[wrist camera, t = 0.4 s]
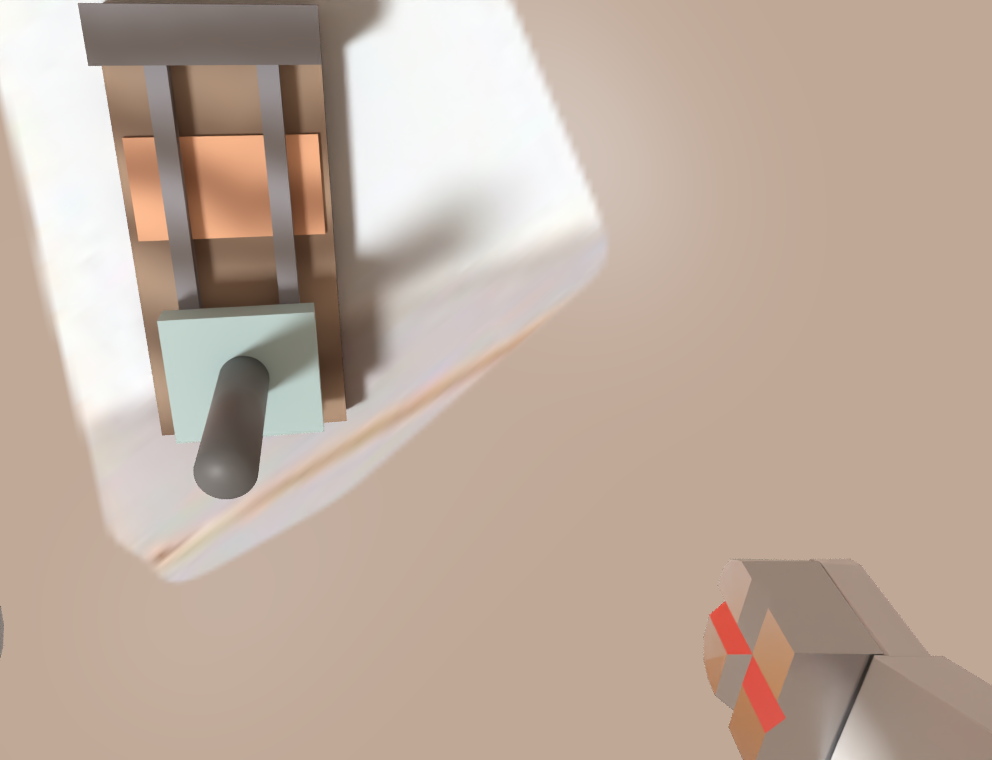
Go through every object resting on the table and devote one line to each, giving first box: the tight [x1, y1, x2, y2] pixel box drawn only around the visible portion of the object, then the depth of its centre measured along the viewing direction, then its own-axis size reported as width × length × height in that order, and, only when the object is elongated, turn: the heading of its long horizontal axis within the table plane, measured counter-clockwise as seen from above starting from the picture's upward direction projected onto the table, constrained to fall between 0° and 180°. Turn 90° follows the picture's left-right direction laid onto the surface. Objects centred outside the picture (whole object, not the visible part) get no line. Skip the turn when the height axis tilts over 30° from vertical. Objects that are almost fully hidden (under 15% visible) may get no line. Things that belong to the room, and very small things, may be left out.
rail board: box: [78, 3, 347, 435], centre depth 52 cm, size 26×12×4 cm, turn 179°
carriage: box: [157, 303, 324, 499], centre depth 48 cm, size 8×9×14 cm
